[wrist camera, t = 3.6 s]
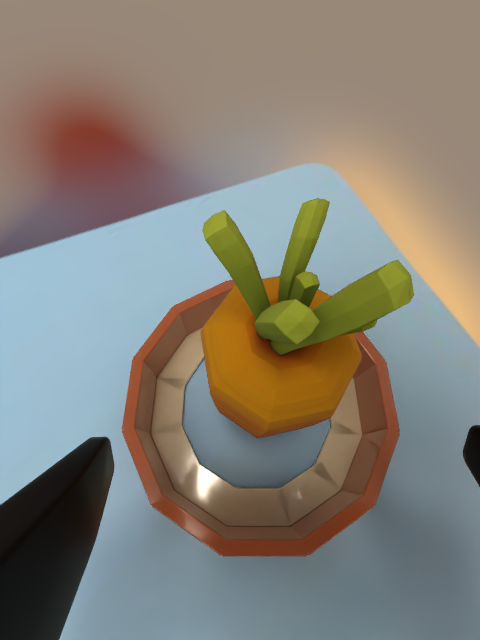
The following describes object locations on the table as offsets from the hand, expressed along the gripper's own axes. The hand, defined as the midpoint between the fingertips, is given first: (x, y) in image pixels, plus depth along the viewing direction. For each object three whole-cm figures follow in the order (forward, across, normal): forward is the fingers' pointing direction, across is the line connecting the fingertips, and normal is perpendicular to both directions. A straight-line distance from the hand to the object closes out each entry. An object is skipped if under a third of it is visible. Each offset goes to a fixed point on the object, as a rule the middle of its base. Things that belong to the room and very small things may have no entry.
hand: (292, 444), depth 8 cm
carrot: (+10, 0, +6) cm, 11 cm away
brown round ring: (+10, 0, +6) cm, 11 cm away
